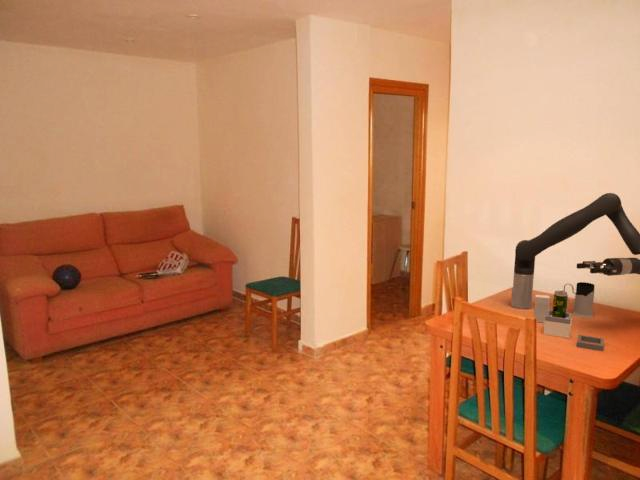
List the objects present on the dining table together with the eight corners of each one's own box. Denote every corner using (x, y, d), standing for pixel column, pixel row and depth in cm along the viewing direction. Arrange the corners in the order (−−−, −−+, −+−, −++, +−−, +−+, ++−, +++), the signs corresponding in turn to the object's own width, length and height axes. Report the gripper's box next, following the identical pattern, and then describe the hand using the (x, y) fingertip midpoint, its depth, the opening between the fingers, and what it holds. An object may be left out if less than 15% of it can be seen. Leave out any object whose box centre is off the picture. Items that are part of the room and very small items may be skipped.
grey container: (588, 319, 242) (591, 288, 239) (558, 311, 253) (560, 281, 250) (596, 315, 248) (599, 284, 245) (566, 308, 258) (568, 278, 256)
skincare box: (547, 320, 241) (549, 295, 239) (548, 323, 237) (550, 298, 235) (533, 319, 243) (535, 294, 240) (533, 322, 239) (535, 296, 237)
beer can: (554, 316, 228) (556, 289, 226) (567, 318, 225) (569, 292, 223) (550, 319, 224) (552, 292, 222) (563, 322, 221) (565, 294, 219)
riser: (543, 334, 224) (545, 316, 222) (546, 326, 232) (547, 309, 231) (569, 338, 219) (570, 320, 217) (570, 330, 228) (572, 313, 226)
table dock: (576, 346, 210) (577, 342, 210) (578, 339, 218) (578, 334, 218) (603, 351, 205) (603, 346, 205) (603, 343, 214) (604, 338, 213)
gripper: (605, 254, 232) (573, 256, 229) (630, 261, 218) (596, 263, 215) (604, 270, 233) (572, 272, 230) (628, 279, 219) (594, 281, 216)
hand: (583, 268), depth 222 cm, fingers open, 8 cm apart
